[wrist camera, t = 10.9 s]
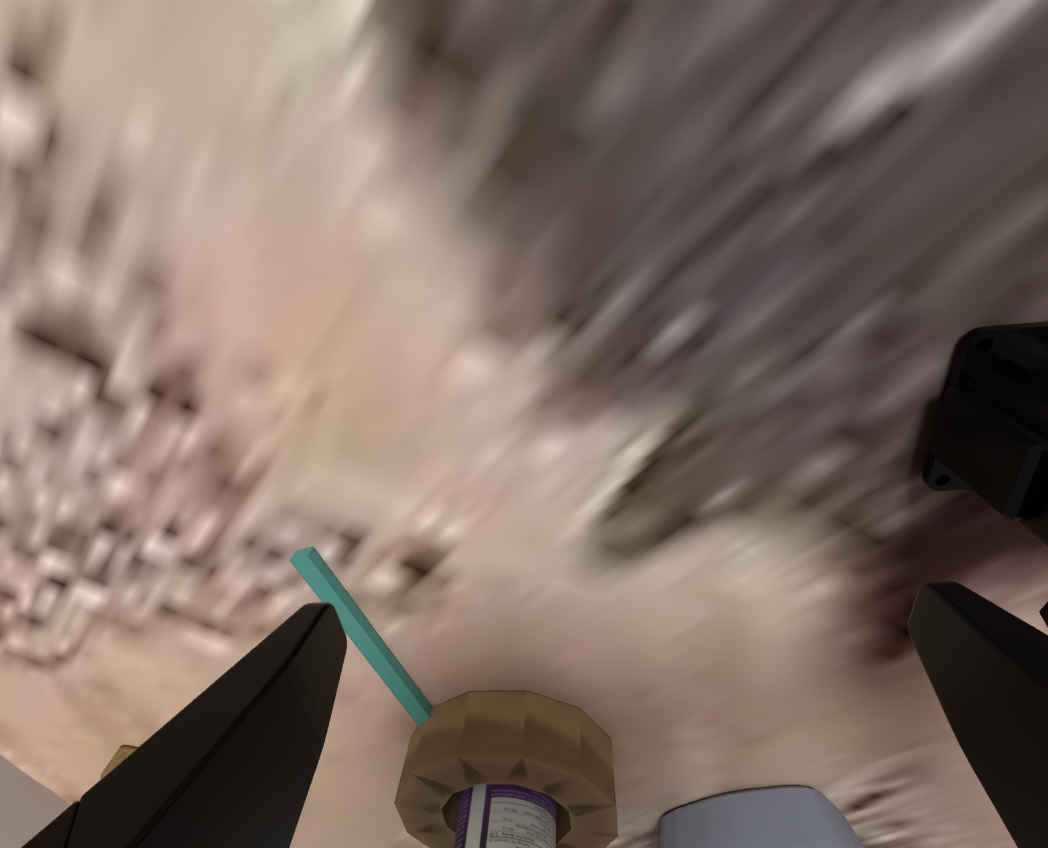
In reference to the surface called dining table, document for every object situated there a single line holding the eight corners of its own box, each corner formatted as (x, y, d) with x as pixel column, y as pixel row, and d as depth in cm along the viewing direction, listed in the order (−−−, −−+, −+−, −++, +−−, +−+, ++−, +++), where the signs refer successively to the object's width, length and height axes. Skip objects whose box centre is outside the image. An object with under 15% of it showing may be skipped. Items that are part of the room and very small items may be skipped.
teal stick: (441, 720, 31) (439, 730, 31) (426, 723, 31) (424, 733, 31) (312, 546, 25) (307, 555, 25) (295, 551, 25) (289, 560, 25)
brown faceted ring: (607, 689, 29) (612, 756, 26) (615, 807, 34) (620, 874, 31) (393, 692, 30) (374, 756, 27) (435, 805, 36) (422, 869, 33)
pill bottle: (504, 786, 34) (484, 1004, 26) (450, 743, 32) (409, 963, 24) (574, 762, 32) (578, 988, 24) (521, 715, 30) (505, 943, 22)
